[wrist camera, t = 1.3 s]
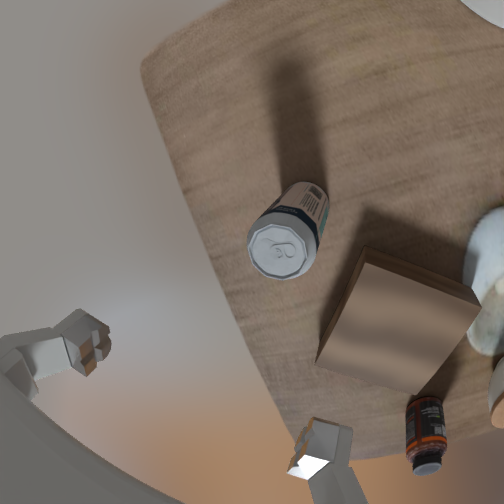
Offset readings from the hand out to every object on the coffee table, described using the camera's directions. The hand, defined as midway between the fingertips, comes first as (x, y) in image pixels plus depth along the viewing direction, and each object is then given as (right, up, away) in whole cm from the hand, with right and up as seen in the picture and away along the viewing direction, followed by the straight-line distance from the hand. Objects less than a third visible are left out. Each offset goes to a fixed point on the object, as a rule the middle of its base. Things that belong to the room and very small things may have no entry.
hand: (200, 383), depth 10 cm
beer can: (+7, +9, +20) cm, 23 cm away
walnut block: (+18, -3, +22) cm, 28 cm away
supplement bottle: (+27, -18, +26) cm, 42 cm away
